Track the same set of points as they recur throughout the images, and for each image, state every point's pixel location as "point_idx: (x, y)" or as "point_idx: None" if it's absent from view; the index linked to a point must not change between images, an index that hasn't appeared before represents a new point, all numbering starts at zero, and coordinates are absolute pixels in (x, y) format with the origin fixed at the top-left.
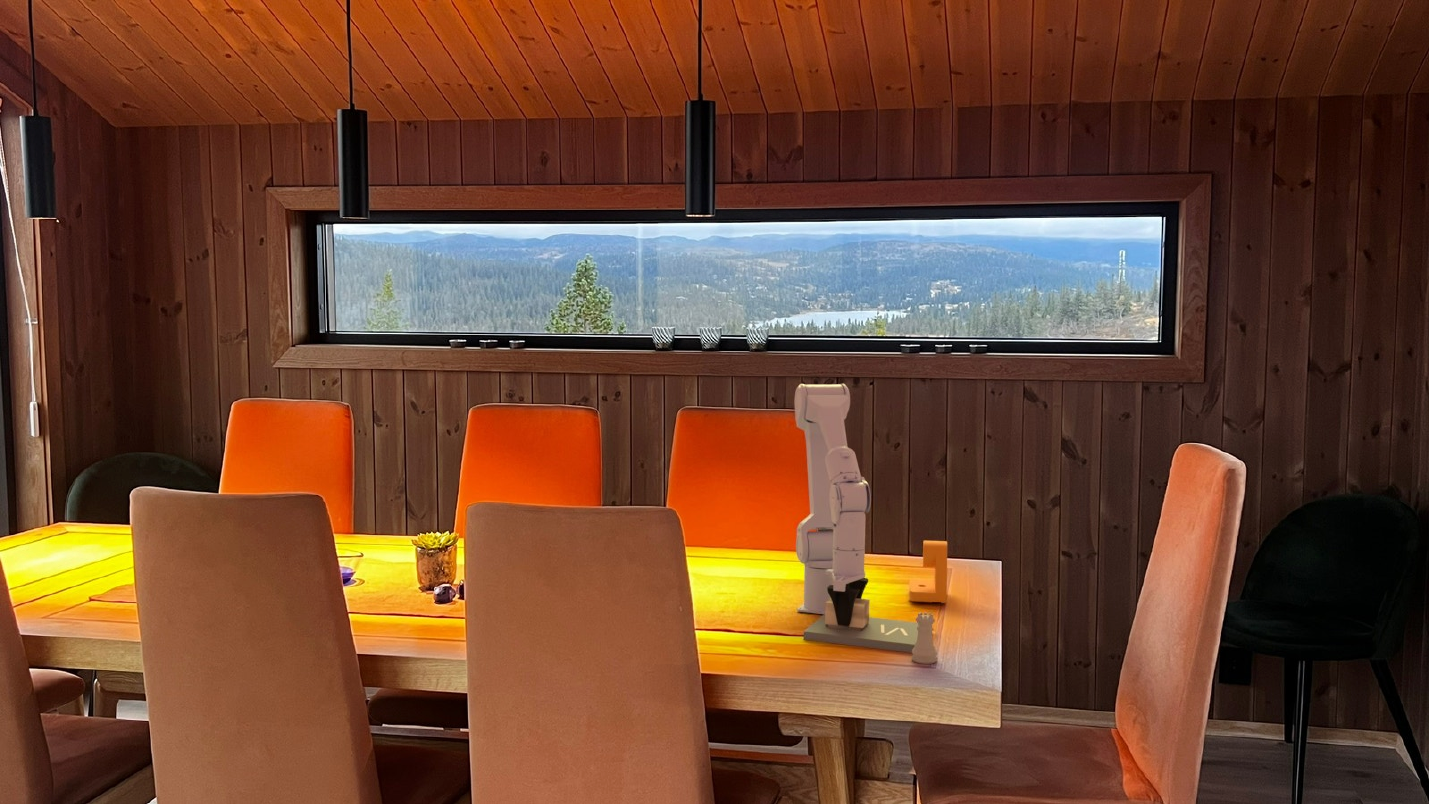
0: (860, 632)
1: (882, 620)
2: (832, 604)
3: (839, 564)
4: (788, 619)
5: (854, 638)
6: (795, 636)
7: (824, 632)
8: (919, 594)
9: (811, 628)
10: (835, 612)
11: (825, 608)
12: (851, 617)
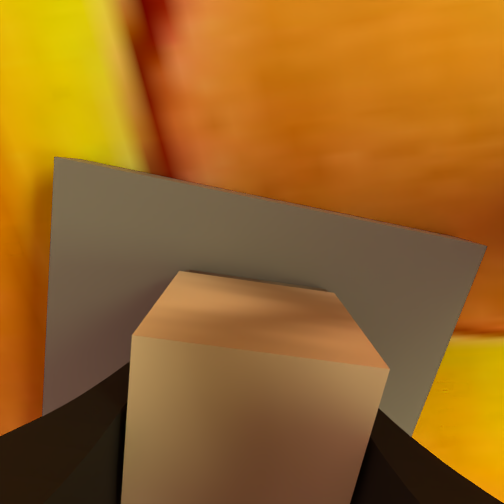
0: None
1: None
2: (133, 385)
3: None
4: (461, 19)
5: (44, 409)
6: (127, 108)
7: (72, 273)
8: None
9: (128, 196)
10: (107, 378)
11: (150, 310)
12: None
